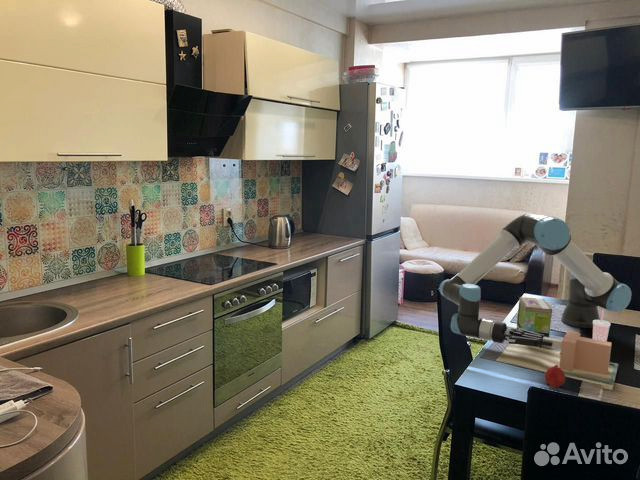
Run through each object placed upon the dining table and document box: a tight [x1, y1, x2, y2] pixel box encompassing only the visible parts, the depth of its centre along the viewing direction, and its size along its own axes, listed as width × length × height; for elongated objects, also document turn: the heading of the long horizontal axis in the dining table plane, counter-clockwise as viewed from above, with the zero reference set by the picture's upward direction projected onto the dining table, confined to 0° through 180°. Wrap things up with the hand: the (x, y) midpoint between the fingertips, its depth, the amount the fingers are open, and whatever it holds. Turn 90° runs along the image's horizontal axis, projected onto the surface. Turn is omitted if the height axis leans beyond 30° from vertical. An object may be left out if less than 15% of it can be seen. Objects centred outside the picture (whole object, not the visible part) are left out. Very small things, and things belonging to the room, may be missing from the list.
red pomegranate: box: [544, 365, 566, 390], centre depth 166 cm, size 6×6×8 cm
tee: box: [559, 330, 612, 375], centre depth 180 cm, size 12×14×10 cm
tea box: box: [515, 296, 553, 338], centre depth 210 cm, size 15×10×15 cm
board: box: [495, 343, 619, 391], centre depth 185 cm, size 22×36×2 cm, turn 57°
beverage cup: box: [592, 309, 611, 342], centre depth 204 cm, size 6×6×14 cm
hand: (562, 345), depth 183 cm, fingers closed
